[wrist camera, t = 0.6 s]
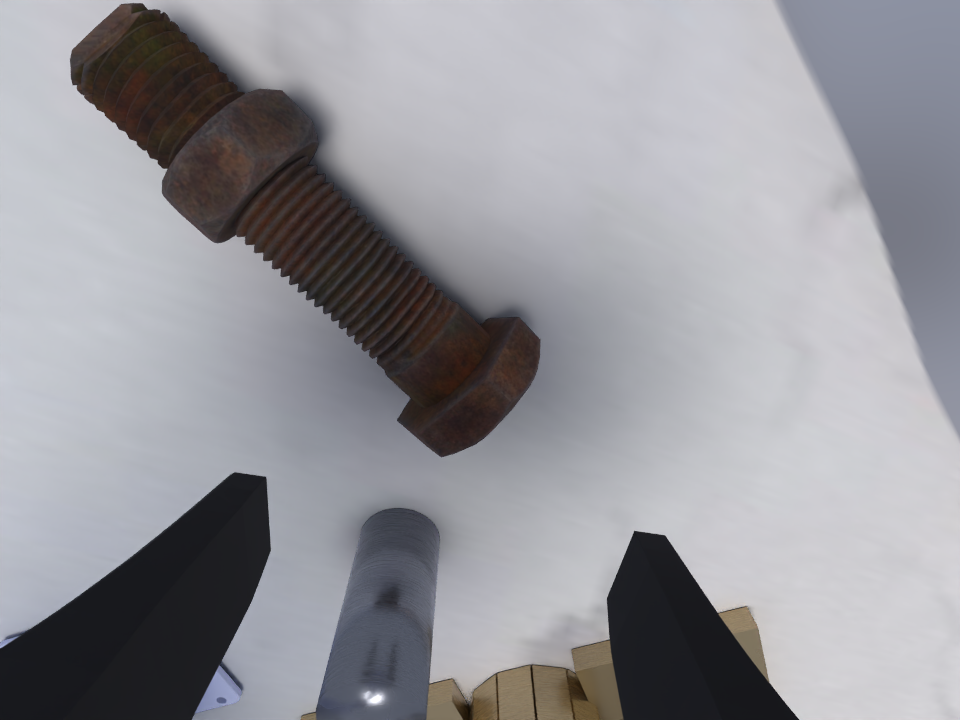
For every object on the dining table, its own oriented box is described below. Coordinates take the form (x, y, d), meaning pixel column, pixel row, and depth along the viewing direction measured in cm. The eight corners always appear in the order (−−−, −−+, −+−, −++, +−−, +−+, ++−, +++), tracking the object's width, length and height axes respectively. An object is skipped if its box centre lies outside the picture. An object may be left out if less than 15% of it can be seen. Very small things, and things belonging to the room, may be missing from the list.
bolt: (193, 36, 18) (498, 344, 23) (72, 137, 17) (417, 439, 22) (160, -88, 13) (570, 349, 17) (-19, 48, 12) (466, 476, 16)
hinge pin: (380, 576, 26) (345, 758, 19) (347, 521, 25) (295, 697, 18) (451, 556, 26) (442, 736, 19) (421, 499, 24) (400, 670, 17)
